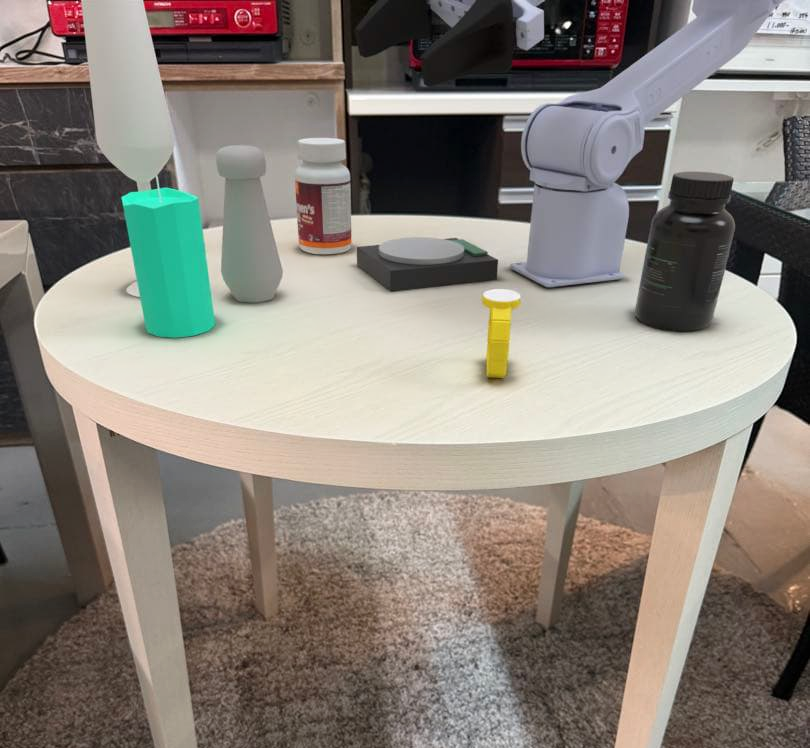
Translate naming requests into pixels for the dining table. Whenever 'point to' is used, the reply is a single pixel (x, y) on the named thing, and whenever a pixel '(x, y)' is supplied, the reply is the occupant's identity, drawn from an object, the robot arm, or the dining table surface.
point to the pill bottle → (323, 197)
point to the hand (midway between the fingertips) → (391, 57)
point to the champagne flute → (127, 91)
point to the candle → (169, 261)
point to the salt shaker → (247, 227)
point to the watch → (499, 328)
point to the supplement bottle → (687, 253)
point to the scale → (426, 262)
